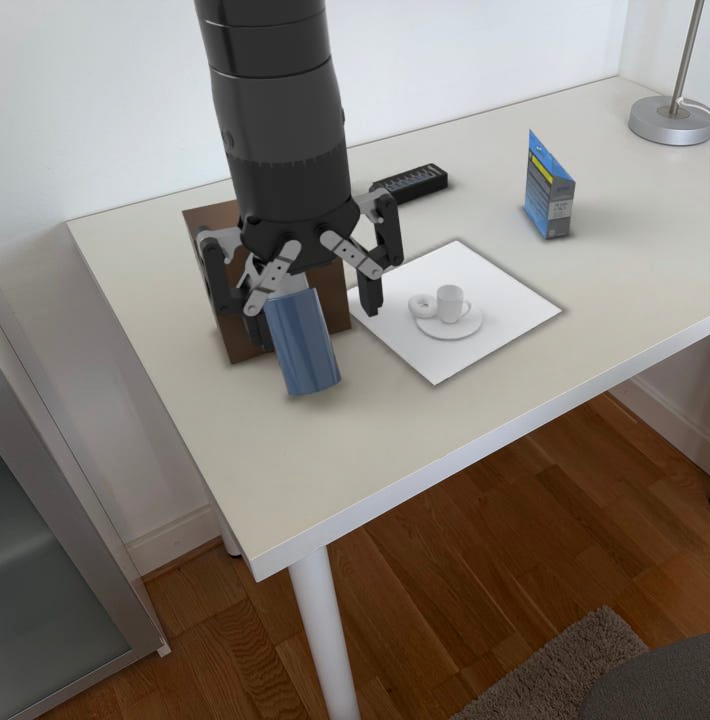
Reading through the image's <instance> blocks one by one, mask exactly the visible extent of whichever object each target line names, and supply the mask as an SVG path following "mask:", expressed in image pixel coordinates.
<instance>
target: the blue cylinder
mask: <svg viewBox="0 0 710 720" xmlns="http://www.w3.org/2000/svg"><path fill="white" fill-rule="evenodd" d="M267 265H268V264H267ZM262 308H263V310H264V312H265V314H266V318H267V322H268V326H269V331H270V335H271V339H272V342H273V345H274V348H275V351H274V352H275V355H276V359H277V361H278V365H279V368H280V370H281V371H280V372H281V374H282V377H283V380H284V384H285V387H286V390H287V393H288V395H289V396H293V397H301V396H308V395H313V394H317V393H319V392H323V391H325V390H328V389H331V388H333V387H335V386H336V385H338V384H339V383H341V381H342V379H343V378H342V375H341V372H340V367H339V364H338V360H337V357H336V354H335V350H334V346H333V343H332V340H331V335H329V332H328V329H327V325H326V321H325V318H324V314H323V311H322V307H321V304H320V300H319V297H318V293H317V290H316V287H315V286H309V284H308V280H307V277H306V273H305V272H303V273H300V274H297V275H293V276H291V275H290V274H289V273H285V275H284V277H283V278H282V280H281V282H280V284H279V286H278V287H277V289H276V291H275V292H274V293H270V294H269V296H268V298H267V299H266V301H265V303H264V305H263V307H262Z"/></svg>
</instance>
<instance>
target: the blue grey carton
mask: <svg viewBox="0 0 710 720" xmlns="http://www.w3.org/2000/svg"><path fill="white" fill-rule="evenodd" d="M528 131H529V132H528V153H527V166H526V167H527V168H526V181H525V193H524V205H523V210H525V212H526V213H527V215H528V217H529V218H530V219H531V221H532V223H533V224H534V225H535V227H536V228H537V229H538V231H539V232H540V233H541V235H542V237H543V239H545V240H548V239H555V238H561V237H567V236H569V235H570V228H571V227H570V226H571V220H572V212H573V205H574V200H575V199H574V198H575V191H576V184H577V183H576V181H575V180H574V178H572V176H571V175H570V174H569V173H568V172H567V171H566V169H565V168H564V167H563V166H562V165H561V163H560V162H559V161H558V160H557V158H556V157H554V155H553V154H552V153H551V152H549V150H548V149H547V148H546V147H545V145H544V144H543V142H542V141H541V140H540V139H539V138H538V136H537V135H536V134H535V133H534V132H533V130H532V129H530V128H529V129H528Z"/></svg>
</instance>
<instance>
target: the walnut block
mask: <svg viewBox="0 0 710 720" xmlns="http://www.w3.org/2000/svg"><path fill="white" fill-rule="evenodd" d="M181 214H182V217H183V221H184V223H185V227H186V231H187V234H188V237H189V241H190V244H191V247H192V250H193V254H194V256H195V259H196V263H197V266H198V269H199V273H200V276H201V279H202V283H203V285H204V289H205V293H206V295H207V299H208V302H209V305H210V309H211V312H212V315H213V319H214V322H215V324H216V328H217V331H218V335H219V337H220V340H221V342H222V345H223V347H224V350H225V353H226V356H227V358H228V361H229V364H230V365H233V364H236V363H239V362H243V361H247V360H250V359H254V358H256V357H260V356H263V355H267V354H270V353H273V352H275V348H273V349H270V350H267V351H264V349H263V347H262V345H260V346H257V347H256V346H255V345H254V344H253V343H252V342H251V340H250V337H249V335H248V333H247V331H246V327H245V323H244V320H243V316H242V314H240V313H232V314H231V315H229V316H227V317H220V316H218V315H217V314H216V312H215V309H214V305H213V303H212V301H211V299H210V298H209V296H208V293H207V289H206V285H205V280H204V276H203V271H202V267H201V263H200V258H199V254H198V249H197V245H196V240H195V236H194V231H195V229H196V228H197V227H199V226H202V225H206V226H209V227H210V228H211V229H212V230H213V231H215V230H221V229H226V228H231V227H236V226H237V223H238V220H239V214H240V213H239V207H238V202H237V198H235V199H231V200H226V201H222V202H217V203H213V204H208V205H203V206H198V207H193V208H189V209H184V210H181ZM250 253H251V252H250V251H249V250H247V249H246V248H245V247H244V246H243V245H240V246H238V247H237V248H236V249H235V250H234V257H233V259H232V260H231V262H230V263H229V264H225V268H226V273H227V278H228V283H229V288H236V287H237V285H238V283H239V281H240V279H241V277H242V275H243V274H244V272H245V264H246V261H247V259H248V257H249V255H250ZM332 264H333V265H329V266H325V267H319V268H310V269H308V270H307V271H305V273H306V277H307V280H308V284H309V286H315V287H316V290H317V293H318V297H319V300H320V304H321V307H322V311H323V314H324V318H325V321H326V325H327V329H328V332H329V336H331V335H335V334H338V333H341V332H344V331H348V330H351V329H352V327H353V326H352V319H351V313H350V311H349V304H348V296H347V291H348V290H347V281H346V274H345V267H344V260H343V259H342V258H340V257H339V256H338V257H337V258H336V259H335V260H333V261H332ZM272 343H273V342H272ZM273 347H274V345H273Z"/></svg>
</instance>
